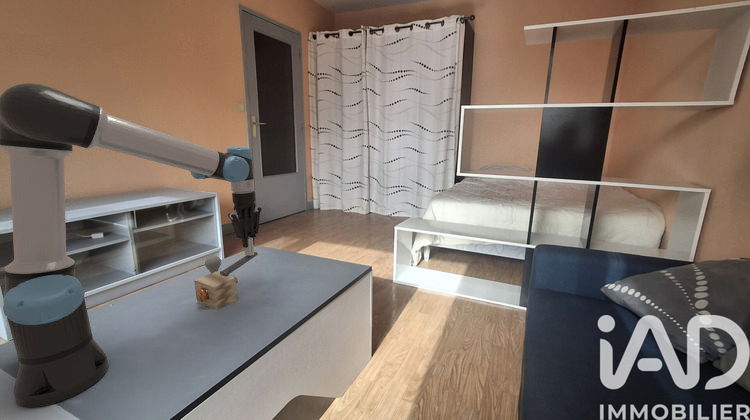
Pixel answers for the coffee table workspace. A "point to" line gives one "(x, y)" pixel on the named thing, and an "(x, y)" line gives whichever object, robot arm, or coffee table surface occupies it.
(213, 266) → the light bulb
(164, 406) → the coffee table surface
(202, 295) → the pin
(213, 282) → the block
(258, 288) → the coffee table surface
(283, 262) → the coffee table surface
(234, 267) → the bar
